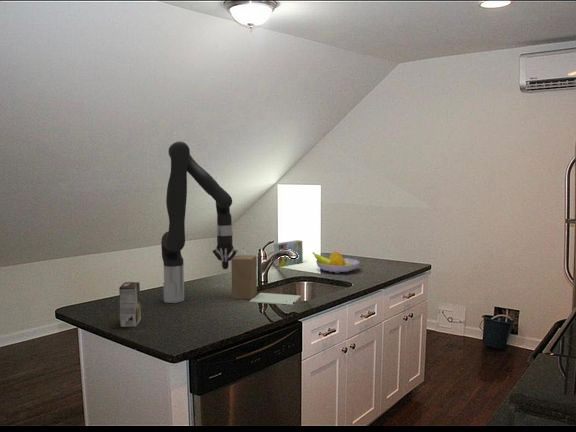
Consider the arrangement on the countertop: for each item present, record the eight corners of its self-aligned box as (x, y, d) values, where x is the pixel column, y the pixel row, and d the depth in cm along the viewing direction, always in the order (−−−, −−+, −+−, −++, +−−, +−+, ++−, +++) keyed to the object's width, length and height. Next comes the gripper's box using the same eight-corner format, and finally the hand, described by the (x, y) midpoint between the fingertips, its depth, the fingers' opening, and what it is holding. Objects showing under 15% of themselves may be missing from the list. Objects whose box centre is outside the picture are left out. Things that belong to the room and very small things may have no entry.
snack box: (297, 261, 332) (297, 239, 331) (302, 263, 328) (303, 240, 326) (273, 266, 318) (273, 243, 316) (279, 267, 314) (279, 244, 312)
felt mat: (292, 305, 225) (292, 304, 225) (249, 302, 231) (249, 301, 231) (300, 296, 241) (300, 295, 241) (260, 293, 246) (260, 292, 246)
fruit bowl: (365, 269, 306) (365, 251, 305) (346, 277, 284) (346, 258, 283) (326, 264, 321) (326, 247, 320) (305, 272, 299) (305, 253, 298)
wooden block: (251, 300, 234) (251, 259, 233) (231, 299, 236) (231, 258, 235) (257, 295, 244) (256, 255, 242) (237, 294, 246) (237, 254, 244)
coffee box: (125, 320, 204) (124, 282, 202) (141, 319, 204) (140, 281, 203) (119, 327, 195) (118, 287, 193) (136, 326, 195) (135, 286, 194)
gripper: (209, 234, 238) (209, 269, 240) (234, 235, 235) (235, 271, 236) (215, 232, 246) (216, 266, 247) (240, 233, 242) (240, 268, 244)
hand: (225, 268), depth 242 cm, fingers closed
